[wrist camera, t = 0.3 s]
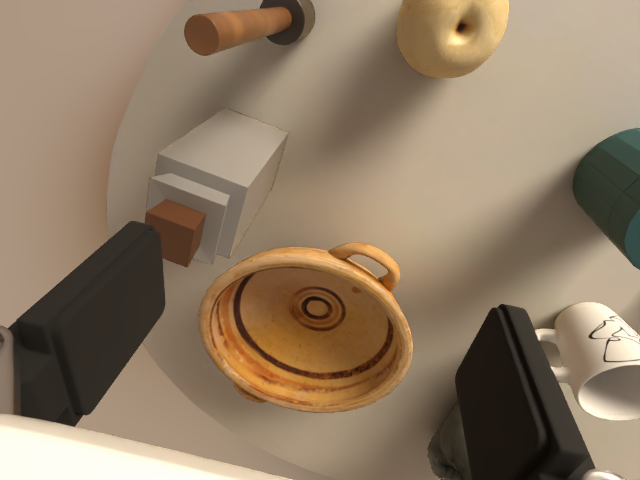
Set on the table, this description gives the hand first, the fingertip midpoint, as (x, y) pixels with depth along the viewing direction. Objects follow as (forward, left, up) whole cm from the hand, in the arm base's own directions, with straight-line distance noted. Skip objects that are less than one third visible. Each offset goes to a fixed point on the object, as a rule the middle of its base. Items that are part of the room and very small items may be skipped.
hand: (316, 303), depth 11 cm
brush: (-5, -8, -30) cm, 31 cm away
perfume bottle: (+8, -10, -30) cm, 33 cm away
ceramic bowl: (+26, -1, -30) cm, 40 cm away
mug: (+20, +29, -30) cm, 47 cm away
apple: (-7, +5, -30) cm, 31 cm away
